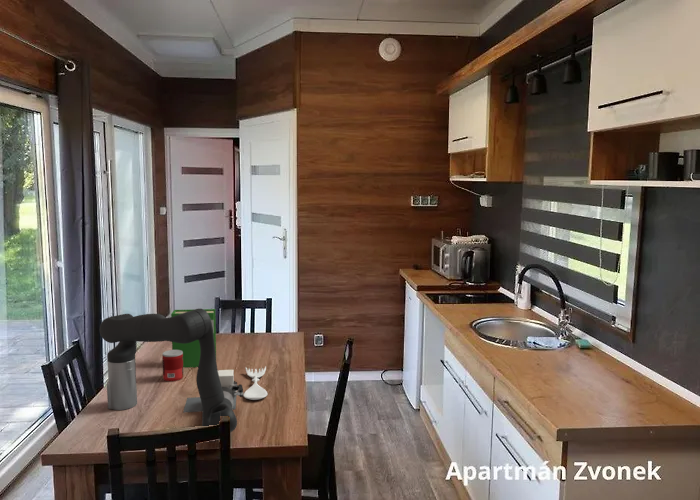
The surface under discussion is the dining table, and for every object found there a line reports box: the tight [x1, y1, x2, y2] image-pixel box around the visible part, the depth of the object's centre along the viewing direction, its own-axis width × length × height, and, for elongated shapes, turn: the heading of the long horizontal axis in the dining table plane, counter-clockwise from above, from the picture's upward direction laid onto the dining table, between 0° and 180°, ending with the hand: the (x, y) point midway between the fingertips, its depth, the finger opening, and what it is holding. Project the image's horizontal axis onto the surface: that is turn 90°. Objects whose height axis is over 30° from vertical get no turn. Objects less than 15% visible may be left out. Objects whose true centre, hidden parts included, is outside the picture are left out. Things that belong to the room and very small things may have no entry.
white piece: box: [243, 365, 269, 401], centre depth 216 cm, size 9×32×4 cm, turn 10°
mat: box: [182, 395, 237, 414], centre depth 199 cm, size 18×13×3 cm
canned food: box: [161, 349, 184, 382], centre depth 223 cm, size 8×8×11 cm
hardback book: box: [170, 308, 217, 369], centre depth 239 cm, size 18×7×24 cm, turn 98°
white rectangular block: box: [218, 369, 235, 387], centre depth 199 cm, size 6×6×11 cm
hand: (224, 383), depth 201 cm, fingers closed on white rectangular block, 6 cm apart
